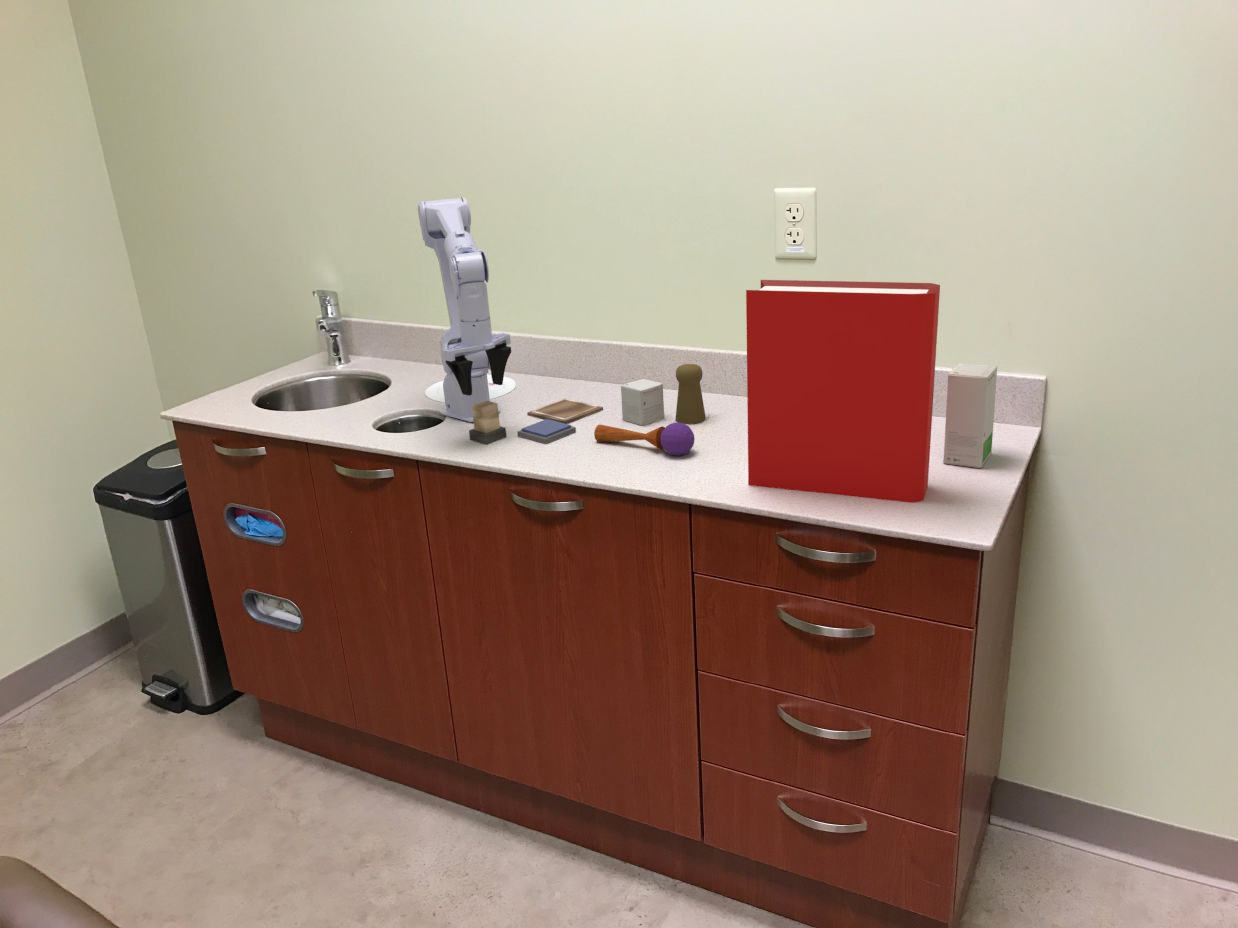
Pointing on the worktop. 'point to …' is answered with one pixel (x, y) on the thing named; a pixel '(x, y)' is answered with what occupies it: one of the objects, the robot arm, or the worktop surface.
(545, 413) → the board
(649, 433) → the purple maraca
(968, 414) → the skincare box
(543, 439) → the ink pad
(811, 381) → the book
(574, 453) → the worktop surface
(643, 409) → the skincare box
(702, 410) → the cork
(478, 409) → the stamp
